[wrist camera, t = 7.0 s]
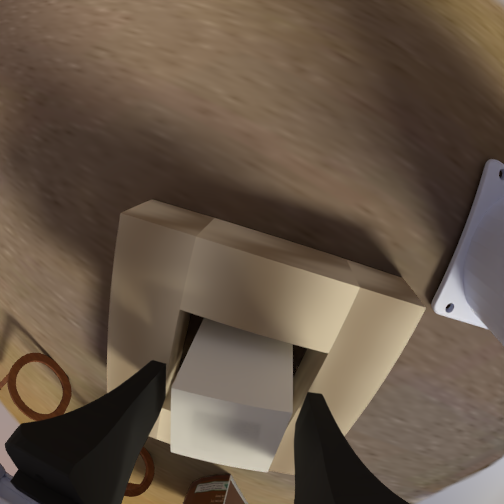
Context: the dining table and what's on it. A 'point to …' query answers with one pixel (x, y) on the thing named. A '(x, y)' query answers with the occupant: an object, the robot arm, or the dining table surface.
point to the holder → (253, 308)
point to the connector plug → (232, 397)
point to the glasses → (37, 357)
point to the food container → (215, 491)
